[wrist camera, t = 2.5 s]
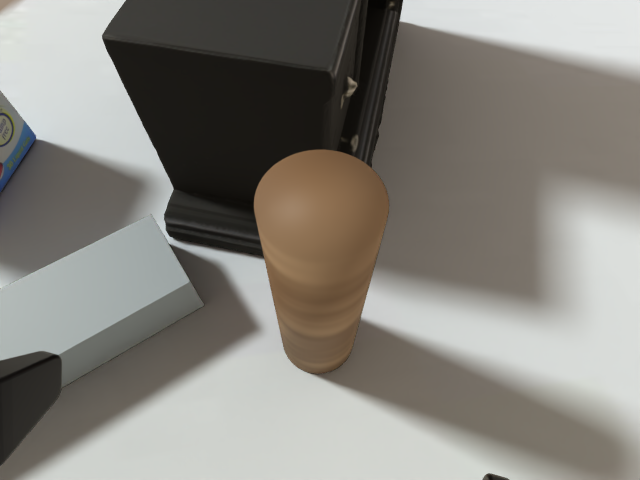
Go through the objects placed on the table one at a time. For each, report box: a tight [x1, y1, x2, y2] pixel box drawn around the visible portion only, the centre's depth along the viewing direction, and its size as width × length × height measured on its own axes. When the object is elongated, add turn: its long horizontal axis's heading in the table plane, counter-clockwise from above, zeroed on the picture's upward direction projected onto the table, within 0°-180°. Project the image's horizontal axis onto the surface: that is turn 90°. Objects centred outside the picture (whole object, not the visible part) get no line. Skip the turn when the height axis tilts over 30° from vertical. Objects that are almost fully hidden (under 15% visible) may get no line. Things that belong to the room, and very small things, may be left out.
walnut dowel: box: [254, 150, 389, 374], centre depth 17 cm, size 4×4×12 cm
